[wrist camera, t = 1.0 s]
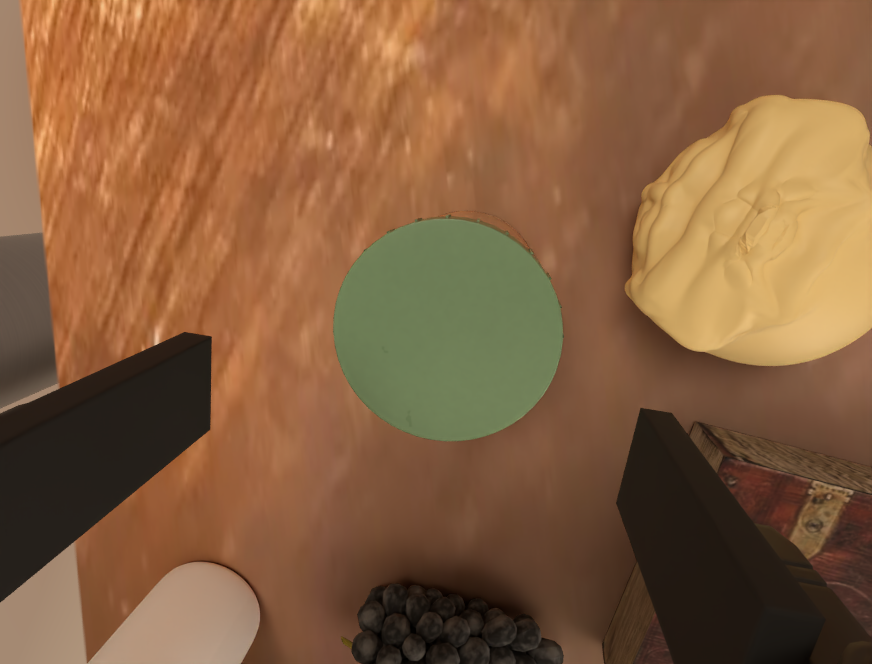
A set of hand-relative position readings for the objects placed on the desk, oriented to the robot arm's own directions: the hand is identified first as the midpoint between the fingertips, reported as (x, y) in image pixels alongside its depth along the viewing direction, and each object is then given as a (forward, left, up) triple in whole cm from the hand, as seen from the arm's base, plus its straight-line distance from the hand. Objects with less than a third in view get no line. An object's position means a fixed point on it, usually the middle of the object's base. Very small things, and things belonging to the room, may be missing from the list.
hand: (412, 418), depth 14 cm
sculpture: (+14, +5, -20) cm, 25 cm away
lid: (0, 0, -8) cm, 8 cm away
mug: (-16, -30, -20) cm, 40 cm away
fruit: (+3, -25, -20) cm, 32 cm away
